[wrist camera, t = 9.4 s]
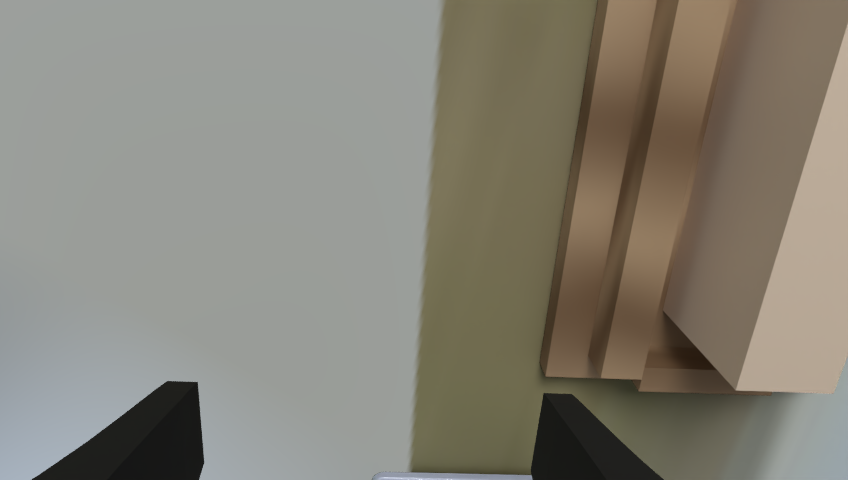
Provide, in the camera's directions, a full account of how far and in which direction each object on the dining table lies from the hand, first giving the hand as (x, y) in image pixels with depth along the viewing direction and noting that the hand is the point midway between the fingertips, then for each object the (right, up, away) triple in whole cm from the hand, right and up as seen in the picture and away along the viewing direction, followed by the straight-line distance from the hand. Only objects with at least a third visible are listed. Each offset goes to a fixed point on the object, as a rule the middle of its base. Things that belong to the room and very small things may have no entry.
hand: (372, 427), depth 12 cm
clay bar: (+12, +7, +8) cm, 16 cm away
